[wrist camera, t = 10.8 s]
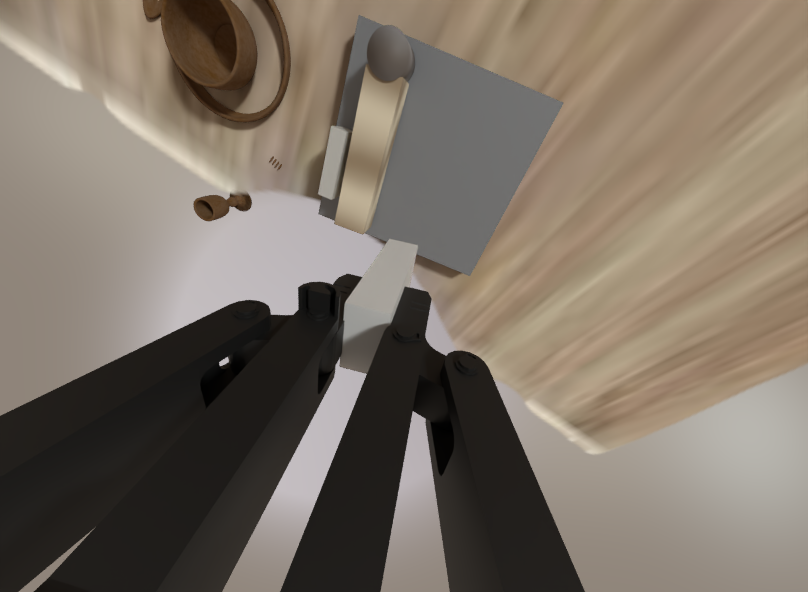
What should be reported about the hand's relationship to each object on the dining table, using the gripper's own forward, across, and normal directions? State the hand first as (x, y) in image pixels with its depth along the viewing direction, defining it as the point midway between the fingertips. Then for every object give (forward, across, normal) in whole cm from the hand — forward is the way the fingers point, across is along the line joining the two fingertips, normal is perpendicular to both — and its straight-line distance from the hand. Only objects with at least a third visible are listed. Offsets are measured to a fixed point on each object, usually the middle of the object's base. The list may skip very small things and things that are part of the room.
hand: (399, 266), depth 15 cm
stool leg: (+16, -6, +4) cm, 18 cm away
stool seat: (+18, -1, +3) cm, 19 cm away
